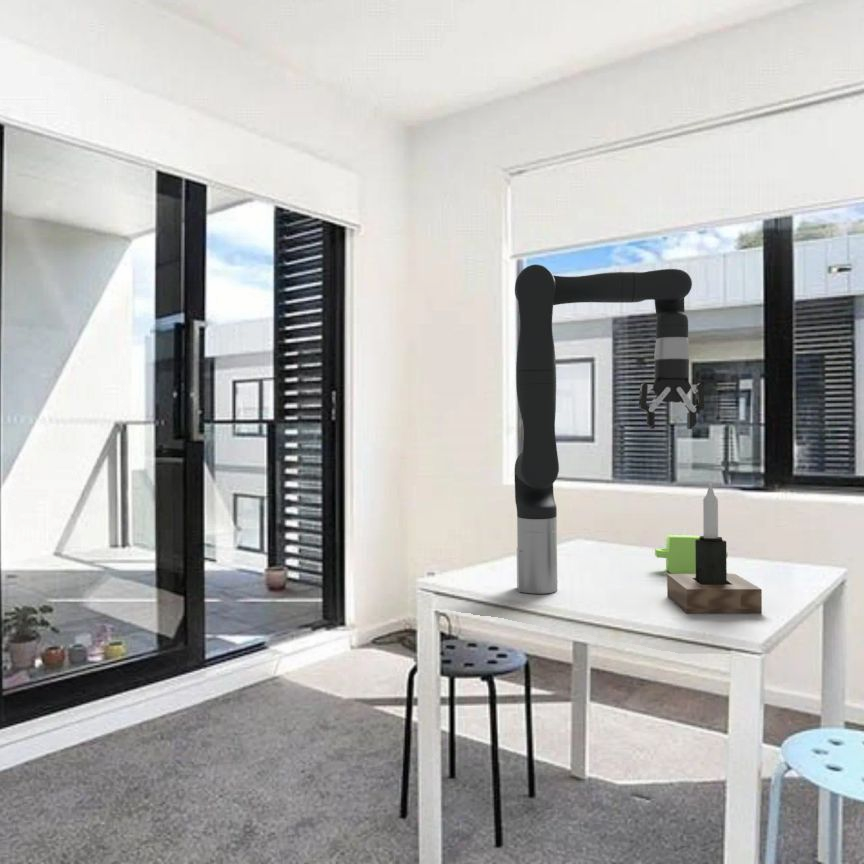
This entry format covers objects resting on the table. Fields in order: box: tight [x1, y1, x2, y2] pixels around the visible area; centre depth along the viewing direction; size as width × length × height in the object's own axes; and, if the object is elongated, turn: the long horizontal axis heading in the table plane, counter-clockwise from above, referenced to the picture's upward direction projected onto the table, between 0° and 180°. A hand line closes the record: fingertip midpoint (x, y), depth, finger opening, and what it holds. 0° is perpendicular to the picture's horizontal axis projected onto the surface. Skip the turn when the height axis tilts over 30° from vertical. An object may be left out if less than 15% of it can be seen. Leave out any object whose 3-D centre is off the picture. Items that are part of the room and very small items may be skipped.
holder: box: [666, 573, 763, 615], centre depth 159 cm, size 15×15×5 cm
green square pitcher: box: [654, 534, 729, 574], centre depth 193 cm, size 18×10×10 cm, turn 82°
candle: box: [695, 482, 728, 585], centre depth 159 cm, size 5×5×25 cm
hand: (670, 428), depth 171 cm, fingers open, 8 cm apart
